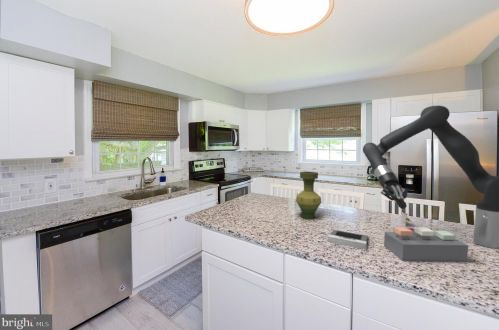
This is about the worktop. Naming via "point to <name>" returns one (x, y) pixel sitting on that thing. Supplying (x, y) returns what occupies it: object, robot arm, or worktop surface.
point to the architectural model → (405, 219)
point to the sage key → (444, 235)
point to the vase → (308, 196)
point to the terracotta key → (403, 232)
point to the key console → (425, 248)
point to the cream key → (423, 232)
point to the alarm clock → (348, 238)
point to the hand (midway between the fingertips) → (403, 207)
